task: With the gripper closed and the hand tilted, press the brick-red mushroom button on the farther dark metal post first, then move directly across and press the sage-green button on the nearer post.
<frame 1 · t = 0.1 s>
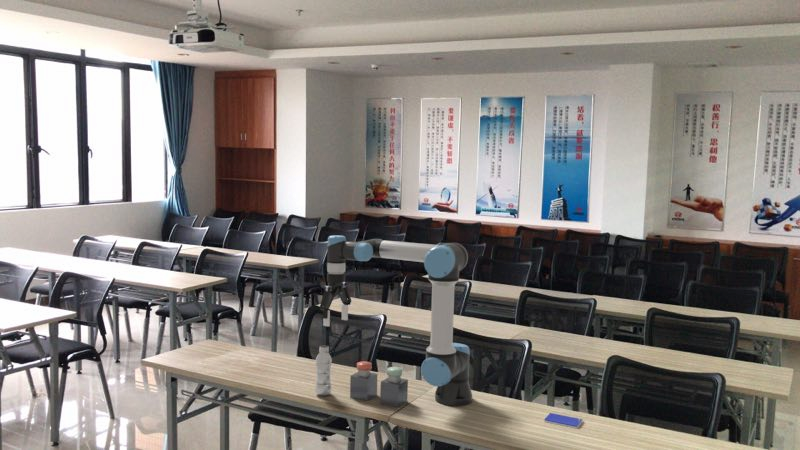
hand: (335, 322, 288), 28 cm above the table, tool pointing down, fingers open, 13 cm apart
green button: (394, 381, 273), point 9 cm above the table, slide at 0.0 cm
plastic bottle: (323, 395, 281), on the table
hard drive: (563, 423, 259), on the table
red button: (364, 375, 280), point 9 cm above the table, slide at 0.0 cm
green button post: (393, 402, 274), on the table
red button post: (363, 396, 281), on the table
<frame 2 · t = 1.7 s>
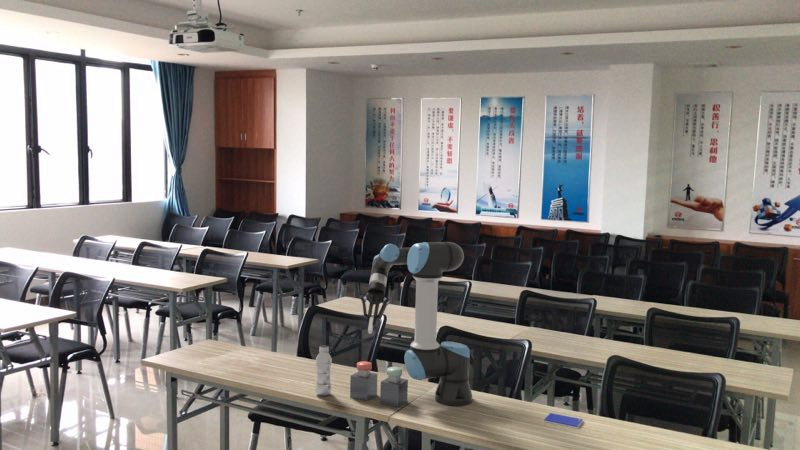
hand: (369, 331, 290), 24 cm above the table, tool tilted 45°, fingers closed
nothing on the table moved.
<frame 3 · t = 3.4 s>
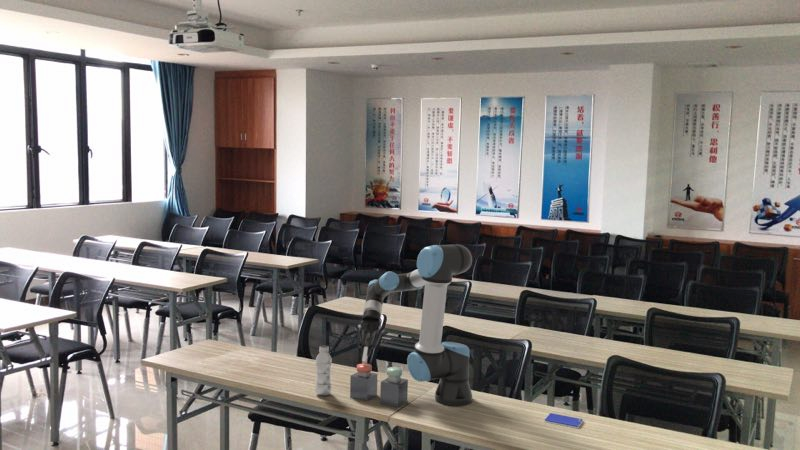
hand: (364, 362, 280), 14 cm above the table, tool tilted 45°, fingers closed
red button: (364, 377, 280), point 8 cm above the table, slide at 0.9 cm, touching gripper
everything else where it was.
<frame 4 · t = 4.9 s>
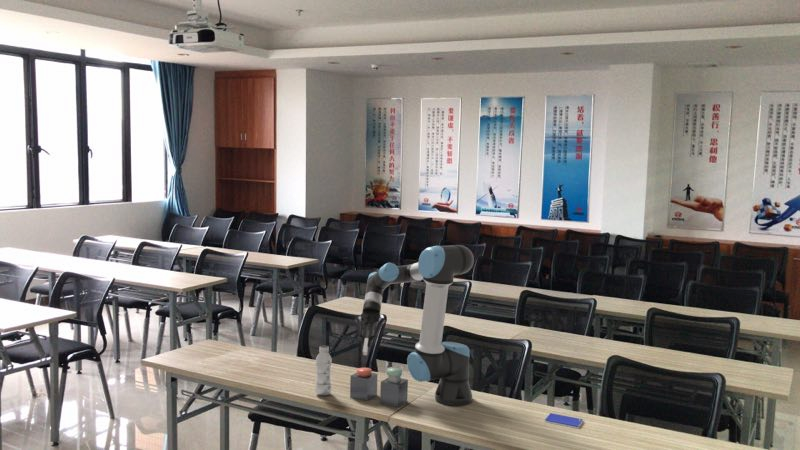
hand: (364, 353, 279), 18 cm above the table, tool tilted 45°, fingers closed
red button: (363, 381, 280), point 6 cm above the table, slide at 2.6 cm
everything else where it was.
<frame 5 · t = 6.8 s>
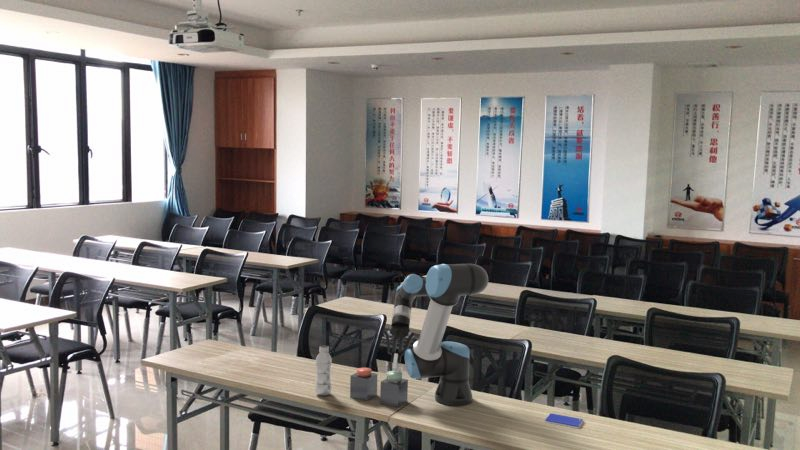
hand: (394, 369, 273), 13 cm above the table, tool tilted 45°, fingers closed
green button: (394, 384, 273), point 7 cm above the table, slide at 1.5 cm, touching gripper
everything else where it was.
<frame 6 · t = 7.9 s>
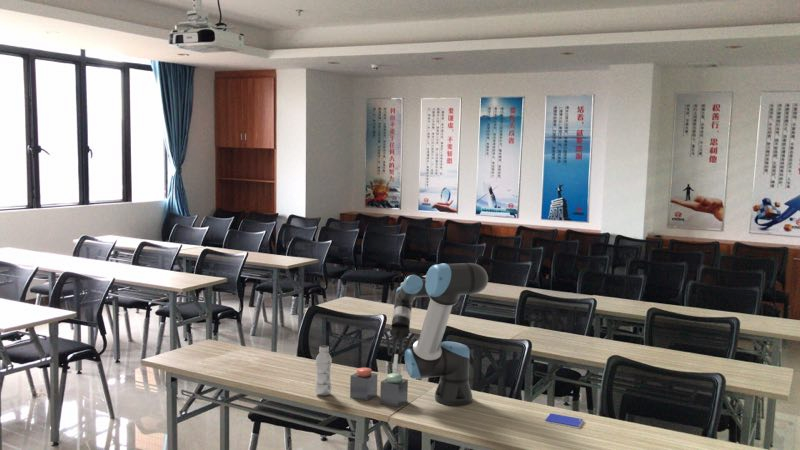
hand: (394, 370, 273), 13 cm above the table, tool tilted 45°, fingers closed
green button: (394, 387, 274), point 6 cm above the table, slide at 2.6 cm
everything else where it was.
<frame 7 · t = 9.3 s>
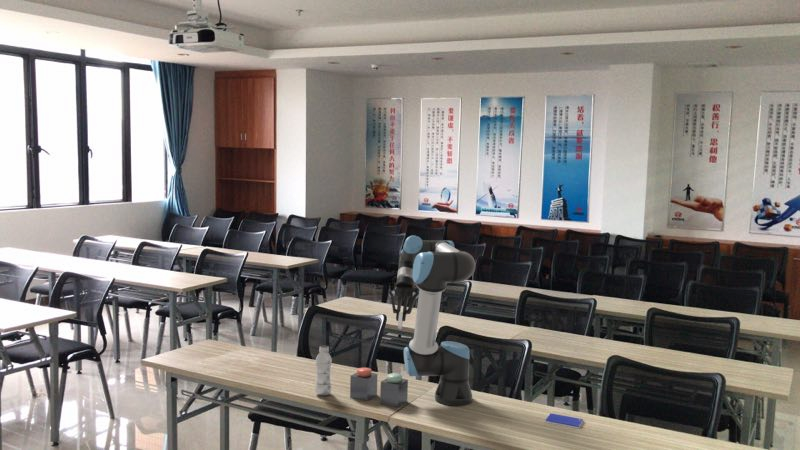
hand: (399, 327, 283), 28 cm above the table, tool tilted 45°, fingers closed
nothing on the table moved.
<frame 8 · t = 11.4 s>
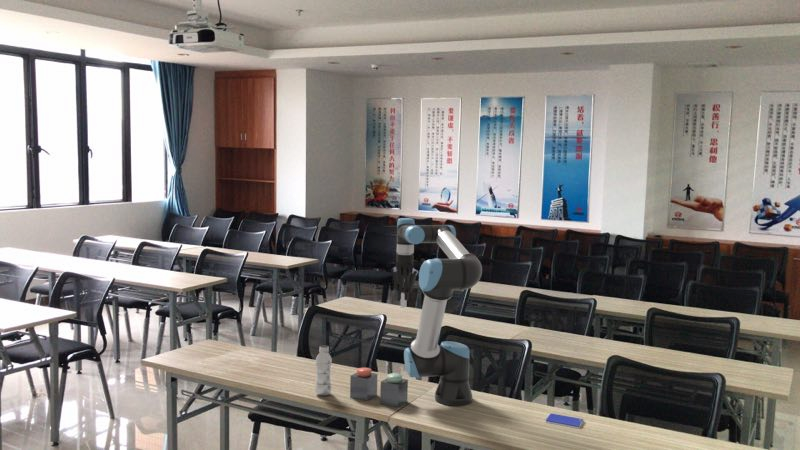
hand: (403, 307, 301), 32 cm above the table, tool pointing down, fingers closed
nothing on the table moved.
at the end: red button slide at 2.6 cm; green button slide at 2.6 cm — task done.
